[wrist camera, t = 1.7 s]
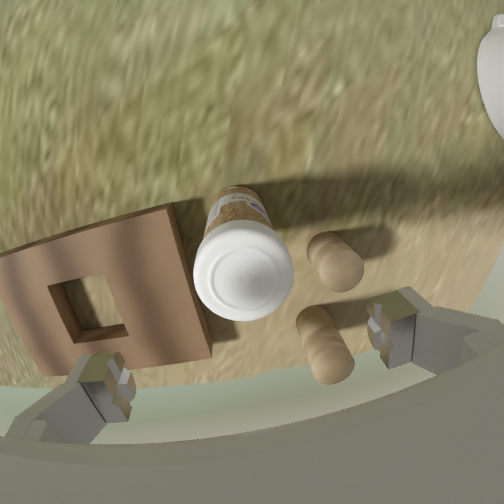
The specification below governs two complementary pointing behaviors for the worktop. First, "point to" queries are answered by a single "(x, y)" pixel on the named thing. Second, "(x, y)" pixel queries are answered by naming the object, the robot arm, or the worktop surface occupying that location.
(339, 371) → the medium beech dowel
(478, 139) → the worktop surface
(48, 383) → the worktop surface
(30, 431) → the robot arm
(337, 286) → the short beech dowel
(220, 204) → the sprinkles bottle
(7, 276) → the walnut board
